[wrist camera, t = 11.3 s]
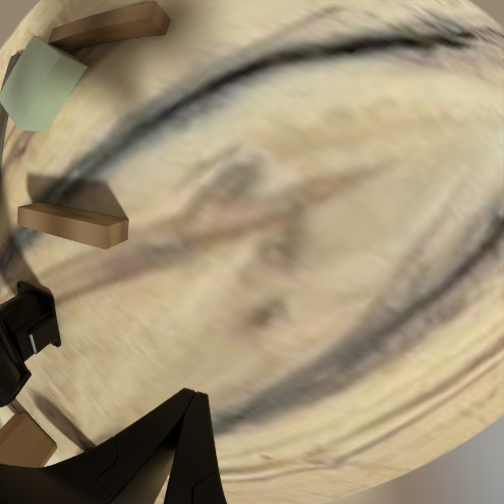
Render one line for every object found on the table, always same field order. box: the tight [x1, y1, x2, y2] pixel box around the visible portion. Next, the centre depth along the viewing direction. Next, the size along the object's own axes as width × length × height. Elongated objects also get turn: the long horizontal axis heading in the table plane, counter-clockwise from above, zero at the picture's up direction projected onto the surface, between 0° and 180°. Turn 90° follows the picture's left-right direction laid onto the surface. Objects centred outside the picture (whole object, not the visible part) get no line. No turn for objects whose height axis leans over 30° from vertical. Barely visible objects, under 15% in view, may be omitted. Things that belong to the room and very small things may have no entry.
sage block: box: [0, 35, 88, 132], centre depth 16 cm, size 7×7×4 cm
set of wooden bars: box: [0, 2, 170, 249], centre depth 17 cm, size 21×18×3 cm
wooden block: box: [0, 412, 57, 468], centre depth 25 cm, size 10×10×20 cm
